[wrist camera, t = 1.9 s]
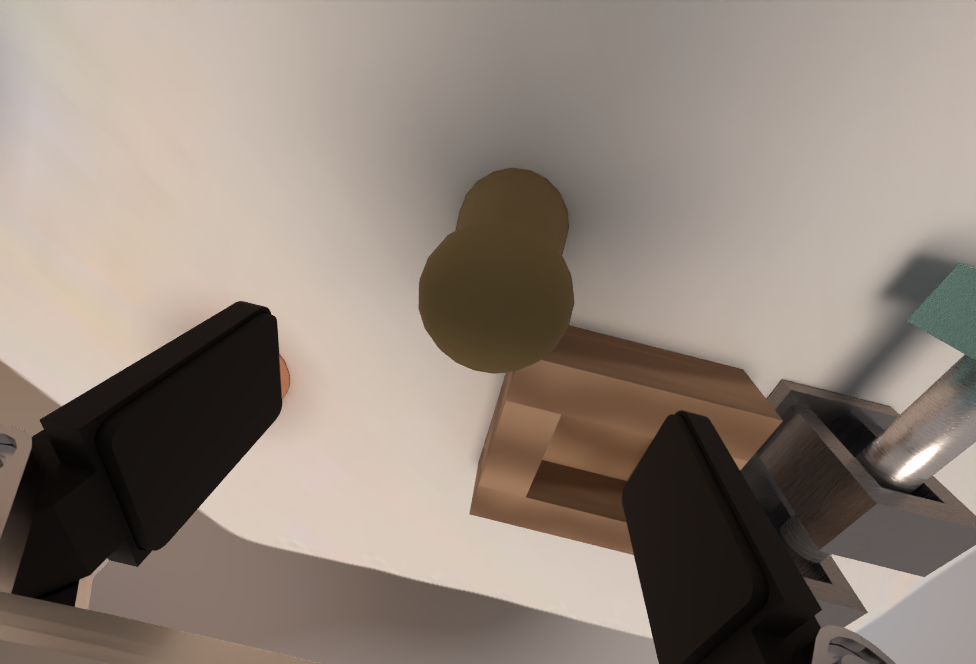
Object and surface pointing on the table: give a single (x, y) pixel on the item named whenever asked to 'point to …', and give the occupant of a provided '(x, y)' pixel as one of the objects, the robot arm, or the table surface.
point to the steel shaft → (923, 407)
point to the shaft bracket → (848, 497)
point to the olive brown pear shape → (501, 275)
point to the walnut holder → (601, 431)
